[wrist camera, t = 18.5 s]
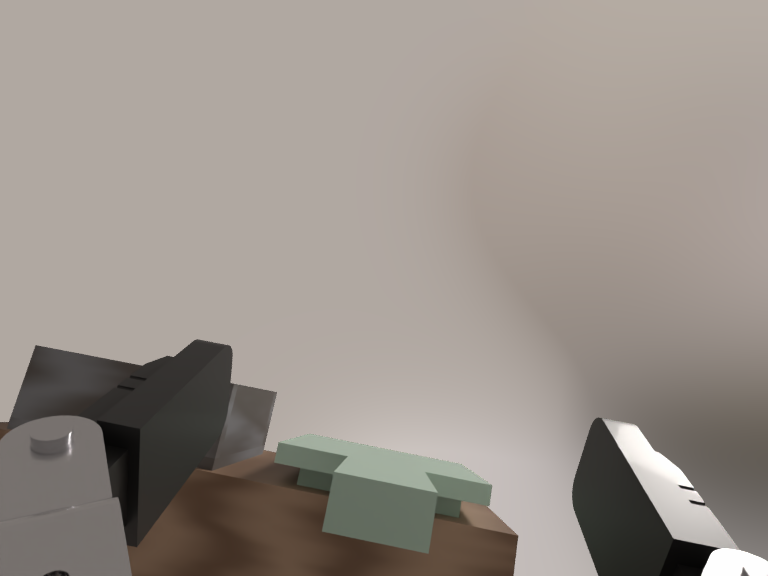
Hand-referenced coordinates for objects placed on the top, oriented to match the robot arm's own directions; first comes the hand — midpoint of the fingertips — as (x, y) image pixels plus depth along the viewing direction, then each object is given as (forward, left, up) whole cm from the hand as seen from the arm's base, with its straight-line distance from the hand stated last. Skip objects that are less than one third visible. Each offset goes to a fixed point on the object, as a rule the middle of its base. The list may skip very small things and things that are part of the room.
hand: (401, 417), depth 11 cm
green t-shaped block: (0, +15, -4) cm, 16 cm away
